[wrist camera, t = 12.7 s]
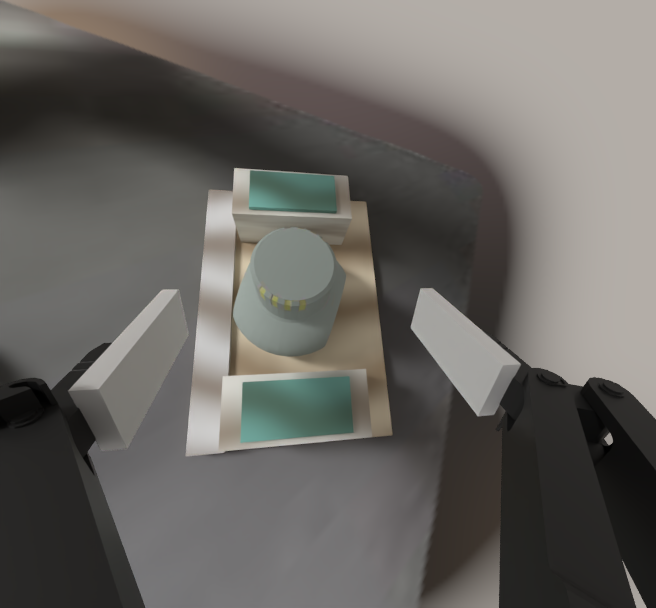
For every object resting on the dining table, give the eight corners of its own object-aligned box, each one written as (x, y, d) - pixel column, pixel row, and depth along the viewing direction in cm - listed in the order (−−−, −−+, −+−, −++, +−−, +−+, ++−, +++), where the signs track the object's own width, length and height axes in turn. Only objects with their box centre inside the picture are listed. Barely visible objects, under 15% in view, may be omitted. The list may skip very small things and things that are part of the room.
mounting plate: (212, 199, 30) (194, 152, 24) (363, 206, 33) (381, 167, 27) (192, 451, 23) (158, 476, 17) (388, 433, 26) (420, 448, 20)
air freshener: (315, 369, 25) (331, 360, 16) (232, 344, 25) (198, 320, 15) (343, 271, 29) (371, 217, 19) (271, 247, 28) (263, 180, 19)
